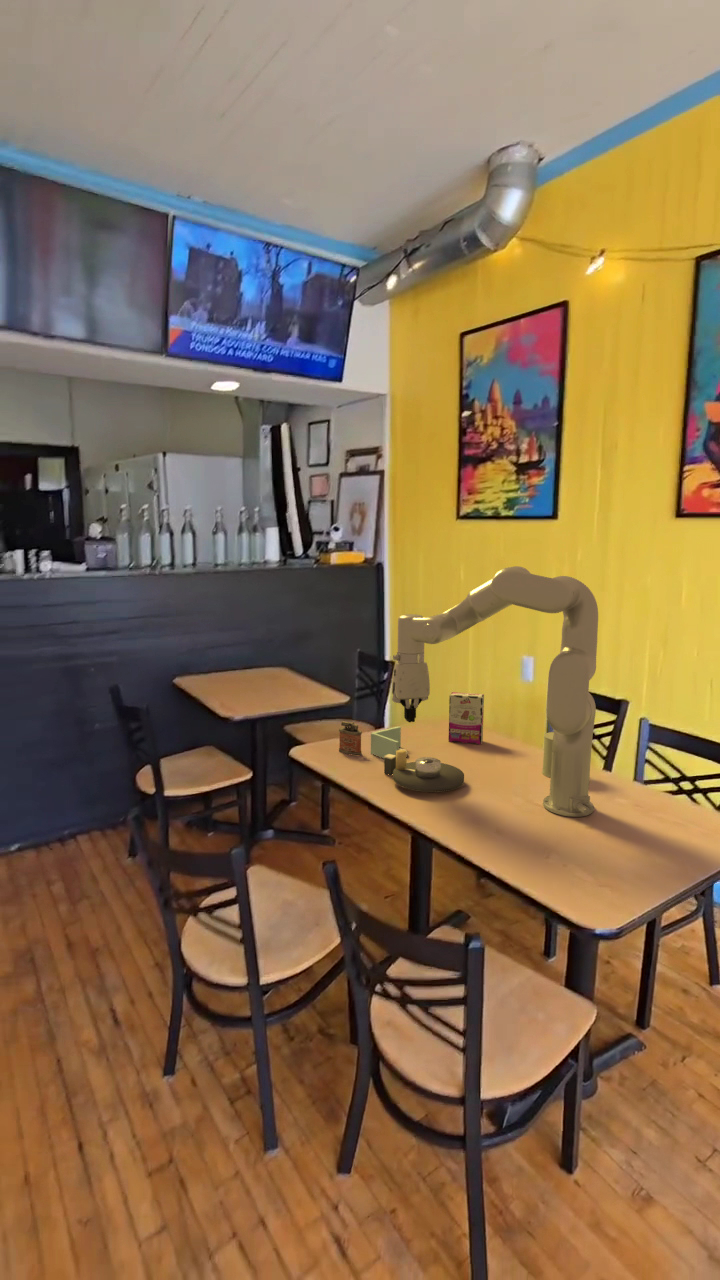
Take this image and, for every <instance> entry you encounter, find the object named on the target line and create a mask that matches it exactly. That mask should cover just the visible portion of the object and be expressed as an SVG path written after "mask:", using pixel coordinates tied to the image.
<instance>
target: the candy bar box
mask: <svg viewBox="0 0 720 1280" xmlns="http://www.w3.org/2000/svg"><path fill="white" fill-rule="evenodd" d="M448 701H449V702H448V704H449V707H448V708H449V710H448V715H449V716H448V742H449V743H457V744H458V743H460V744H470V745H482V743H483V740H484V711H485V710H484V707H485V706H484V703H485V694H484V693H483V694H482V693H470V692H469V693H468V692H455V691H453V692H451V693H450V694H449V699H448Z"/></svg>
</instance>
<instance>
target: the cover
mask: <svg viewBox="0 0 720 1280" xmlns="http://www.w3.org/2000/svg"><path fill="white" fill-rule="evenodd" d="M414 762H415V776H416V777H418V778H421V779H427V780H432V779H437V778H439V777H440V768H441V763H442V762H441V760H440V759H439V758H435V757H431V756H429V757H428V756H425V757H418V758H416V759H415V761H414Z"/></svg>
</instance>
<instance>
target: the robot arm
mask: <svg viewBox="0 0 720 1280" xmlns="http://www.w3.org/2000/svg"><path fill="white" fill-rule="evenodd" d="M512 605H514V606H517V607H521V608H525V609H530V610H533V611H537V612H541V613H545V614H560V613H562V615H563V621H562V628H561V642H560V643H561V644H560V652H559V653H558V654H557V655H556V656H555V657H554V658H553V659H552V661H551V664H550V667H549V670H548V681H547V695H546V708H545V709H546V719H547V722H548V724H549V726H550V727H551V728H552V729H553V732H554V734H553V747H552V763H551V778H550V781H549V782H550V783H549V795H547V796H545V797H544V798H543V799H542V805H543V807H544V809H546V810H547V811H548V812H551V813H553V814H556V815H558V816H565V817H569V818H570V817H574V818H579V817H587V816H590V815H591V814H593V812H594V811H595V808H596V807H595V805H594V804H593V803H592V801H591V796H590V795H589V792H590V791H589V788H590V774H591V760H592V747H593V746H592V745H593V736H594V735H593V734H594V729H595V728H594V727H595V720H596V703H595V699H594V697H593V695H592V694H591V693H590V692H589V689H590V681H591V680H592V679H593V678H594V676H595V674H596V670H597V651H598V650H597V649H598V631H599V628H598V627H599V607H598V602H597V600H596V598H595V595H594V593H593V592H592V591H591V590H590V588H589V587H588V586H587V585H586V584H585V583H584V582H582V581H580V580H579V579H576V578H575V577H572V576H567V575H560V576H556V577H547V576H543V575H539V574H535V573H534V574H533V573H531V572H530V571H529V570H528V569H527V568H525V567H523V566H516V565H515V566H509V567H508V566H507V567H505V568H502V569H500V570H498V571H497V572H496V573H495V574H494V576H492V578H491V579H489V580H488V581H486V582H484V583H482V584H480V585H479V586H477V587H474V589H472V590H470V591H469V592H468V594H467V595H466V598H465V599H463V600H462V601H461V602H460V603H459V602H458V604H456V605H454V606H453V607H451V608H449V609H447V610H446V611H444V612H442V613H439V614H436V615H433V616H426V617H424V616H423V615H420V614H417V613H416V614H413V613H412V614H411V613H409V614H408V613H406V614H402V615H401V614H400V616H398V619H397V652H396V654H394V655H392V660H394V661H396V662H395V665H394V669H393V672H392V673H393V674H392V682H391V683H392V684H391V685H392V686H391V693H392V698H391V699H392V700H391V701H392V702H394V703H395V704H400V705H402V707H404V708H403V709H404V711H403V718H404V719H405V721H406V722H408V723H415V719H416V718H417V709H418V706H419V705H420V704H421V703H422V702H425V701H427V700H429V696H430V693H431V692H430V691H431V689H430V688H431V687H430V673H429V668H428V667H429V666H428V663H427V662H425V644H428V645H437V644H440V643H441V642H445V641H449V640H450V639H452V638H455V637H457V636H458V635H460V634H461V633H464V632H465V631H467V630H469V629H470V628H472V627H473V626H475V625H477V624H479V623H481V622H484V621H485V620H487V619H488V618H491V617H492V616H494V615H496V614H498V613H499V612H501V611H502V610H505V609H507V608H508V607H510V606H512Z"/></svg>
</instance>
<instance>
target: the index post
mask: <svg viewBox="0 0 720 1280" xmlns="http://www.w3.org/2000/svg"><path fill="white" fill-rule="evenodd" d="M384 758H385V759H383V760H384V763H383V766H384V769H383V770H384V772H383V773H385V774H384V775H387V774H389V775H388V776H393V775H392V774H393V770H394V769H395V768H396V755H392V754H388V755H386V756H384Z"/></svg>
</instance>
